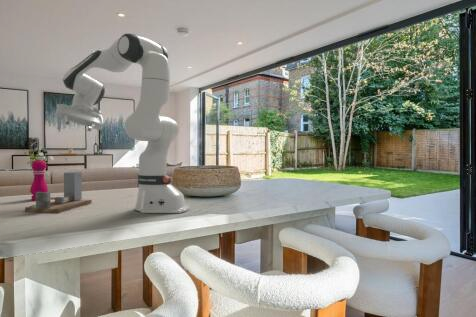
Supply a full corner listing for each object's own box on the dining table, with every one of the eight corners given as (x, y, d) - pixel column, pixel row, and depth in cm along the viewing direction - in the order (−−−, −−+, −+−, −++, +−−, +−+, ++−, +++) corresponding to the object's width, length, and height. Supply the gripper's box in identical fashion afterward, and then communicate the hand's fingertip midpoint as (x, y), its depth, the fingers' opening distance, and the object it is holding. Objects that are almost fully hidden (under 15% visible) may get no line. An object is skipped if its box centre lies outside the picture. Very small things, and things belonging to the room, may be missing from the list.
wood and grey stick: (64, 202, 137) (64, 197, 137) (61, 203, 136) (61, 197, 136) (44, 202, 138) (44, 196, 138) (41, 202, 137) (41, 196, 137)
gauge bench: (91, 203, 147) (91, 186, 147) (58, 213, 126) (58, 193, 125) (62, 202, 149) (62, 185, 149) (25, 211, 128) (25, 192, 127)
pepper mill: (39, 201, 151) (39, 157, 150) (26, 200, 152) (26, 157, 152) (51, 198, 158) (51, 156, 157) (38, 197, 160) (38, 156, 159)
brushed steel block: (81, 199, 147) (81, 172, 147) (67, 202, 138) (67, 174, 137) (71, 198, 148) (71, 172, 148) (56, 202, 138) (56, 173, 138)
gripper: (59, 97, 150) (54, 113, 140) (105, 112, 160) (104, 128, 150) (55, 108, 152) (50, 124, 142) (100, 122, 163) (99, 138, 153)
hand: (78, 126), depth 146 cm, fingers open, 8 cm apart
